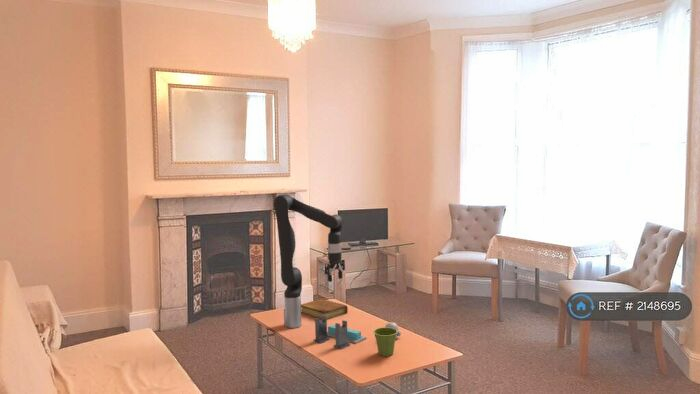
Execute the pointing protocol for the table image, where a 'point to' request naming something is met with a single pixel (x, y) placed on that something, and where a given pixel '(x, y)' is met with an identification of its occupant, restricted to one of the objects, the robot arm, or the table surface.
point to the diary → (323, 309)
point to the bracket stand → (340, 330)
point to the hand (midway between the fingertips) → (335, 280)
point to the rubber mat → (348, 338)
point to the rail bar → (350, 333)
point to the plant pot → (385, 340)
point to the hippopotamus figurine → (394, 325)
